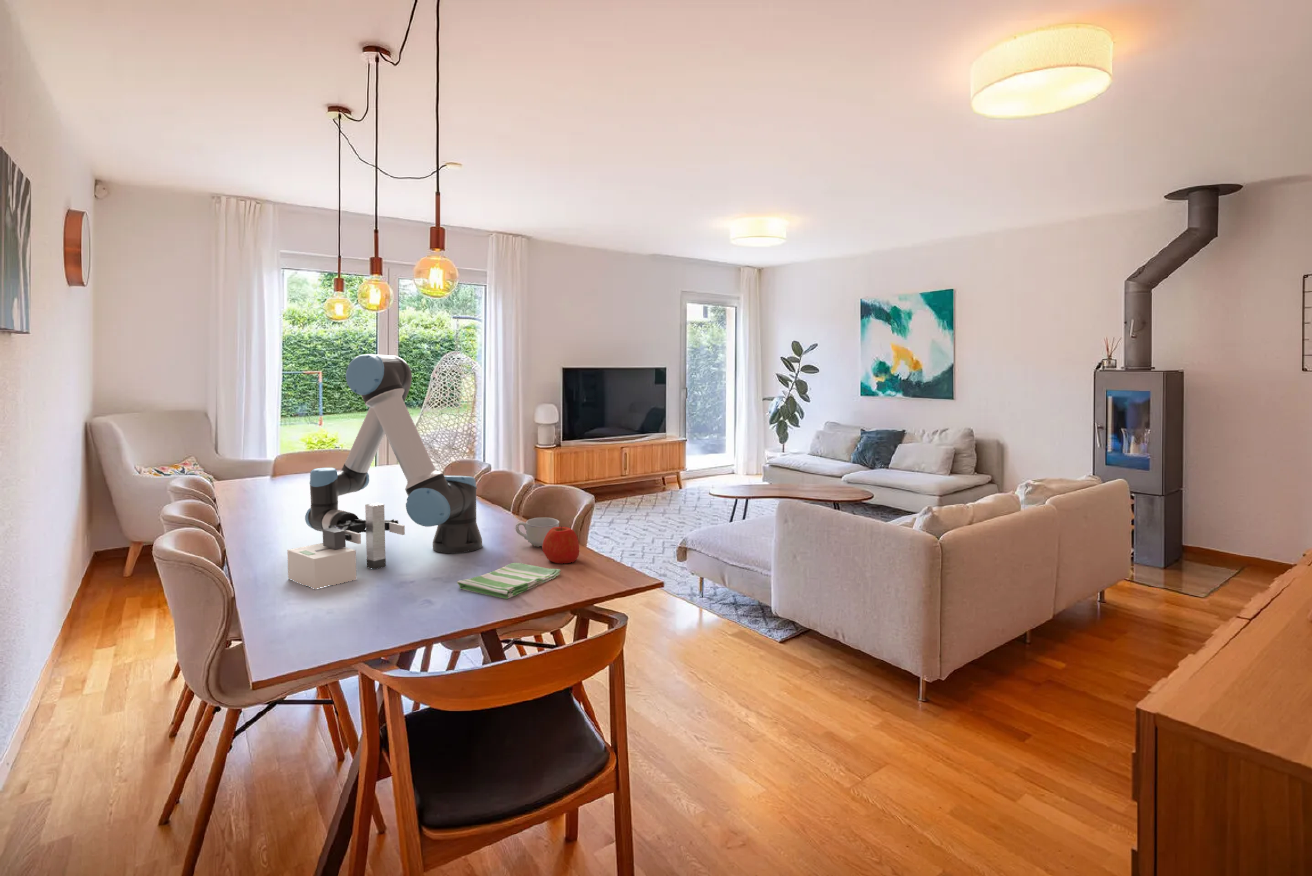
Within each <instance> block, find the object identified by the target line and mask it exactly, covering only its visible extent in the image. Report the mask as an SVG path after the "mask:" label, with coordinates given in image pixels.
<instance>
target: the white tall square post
mask: <svg viewBox="0 0 1312 876" xmlns="http://www.w3.org/2000/svg"><path fill="white" fill-rule="evenodd" d="M364 509H365V512H364V513H365V520H366V528H365V530H366V532H365V544H366V545H365V546H366V547H365V549H366V559H365V562H366V568H368V567H369V568H368V569H371V568H372V569H371V570H378V569H382V568H386V567H385V566H387V559H386V531H385V520H386V519H385V517H386V516H385V504H384V503H379V502H374V503H367V504H365V507H364ZM381 567H382V568H381ZM377 568H378V569H377Z"/></svg>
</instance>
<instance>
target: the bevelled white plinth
mask: <svg viewBox="0 0 1312 876" xmlns="http://www.w3.org/2000/svg"><path fill="white" fill-rule="evenodd" d="M356 553H357V552H356V549H352V548H349V547H344V548H339V549H332V548H329V547H326V546H323V542H321V543H316V544H311V545H305V546H300V547H296V548H291V549H287V575H288V576H287V577H288V578H289V579H292V580H294V581H296V582H298V583H297V584H299V583H301V584H303V585H302V586H304V585H307V586H310V587H312V588H314V589H317V588H320V587H324V586H328V585H333V586H337V585H340V583H341V584H345V583H349V582H352V580H353V581H356V580H357V557H356V555H357V554H356ZM288 578H287V579H288ZM289 579H288V580H289ZM294 581H293V582H294ZM348 581H349V582H348ZM296 582H295V583H296ZM344 582H345V583H344ZM301 584H300V585H301ZM336 584H337V585H336ZM312 588H311V589H312ZM314 589H313V590H314ZM317 590H318V589H317Z"/></svg>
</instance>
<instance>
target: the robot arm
mask: <svg viewBox="0 0 1312 876" xmlns="http://www.w3.org/2000/svg"><path fill="white" fill-rule="evenodd" d="M412 375H413V374H412V370H411V367H410V365H409V364H408V363H407V362H406V361H405V360H404V359H403V358H401V357H399V356H397V355H393V354H392V355H391V354H375V353H367V354H359V355H357V356H355V357H354V358H353V359H352V360H350V362H349V363H348V365H347V369H346V371H345V381H346V384H347V386H348V388H349V389H350V390H351V391H352V392H353V393H355V394H357V395H359V396H361V398H362V400H363V402H364V404H365V406H366V407H369V408H368V410H367V412H366V415H365V417H364V420H363V422H362V424H361V427H359V428H360V429H359V431H358V433H357V435H356V437H355V439H354V441H353V444H352V446H351V448H350V450H349V453H348V455H347V457H346V459H345V461H344V463H343V465H342V468H341V470H340V471H338V470H337V469H336V468H335V467H319V468H318V467H317V468H313V469H312V470H311V471H310V472H309V473H310V474H309V490H310V493H309V494H310V495H309V496H310V508H308V510H307V511H306V513H305V516H304V521H305V523H306V525H307V526H308V527H309V528H311V529H313V530H315V531H317V532H321V533H323V529H327V528H333V527H334V528H337V529H341V530H345V541H347V542H351V543H353V544H357V545H361V544H362V539H361V538H362V537H361V536H362V534H361V533H366V519H361V518H359V517H358V515H356V514H355V513H353V512H349V511H346V510H341V509H339V497H340V496H343V495H347V494H351V493H357V492H360V491H361V490H364V489H365V488H367V486H369V483H370V474H369V473H368V471H369V470H370V467H371V465H372V463H373V461H374V459H375V457H376V455H377V453H378V450H379V448H380V446H381V444H382V442H383V440H384V438H385V437H386V439H387V441H388V443H389V446H390V447H391V449H392V451H393V454H394V455H395V458H396V460H397V462H398V464H399V466H400V468H401V471H402V473H403V475H404V477H405V480H406V486H405V489H404V490H405V492H406V495H407V498H406V503H405V509H406V513H407V515H408V517H409V518H410V519H411V520H412V521H413V522H414V523H415V524H417V525H418V526H419V525H420V526H422V527H426V528H427V527H428V528H430V527H435V526H437V527H436V531H435V534H434V536H433V537H434V538H433V539H432V550H433V551H435V552H437V553H443V554H460V553H461V554H462V553H469V552H473V551H477V550H479V549H481V548H482V547H483V538H482V534H481V532H480V530H479V526H478V523H477V490H478V489H477V483H476V481H477V480H476V478H475V477H474V476H471V475H470V476H468V475H467V476H466V475H445V474H444V473H443V472H442V471H438V470H436V467H435V465H434V464H433V461H432V459H431V457H430V455H429V453H428V450H427V449H426V446H425V443H424V442H423V440H422V437H421V436H420V433H419V431H418V429H417V427H416V425H415V423H414V421H413V419H412V416H411V414H410V411H409V410H408V408H407V406H406V403H405V401H406V400H407V396H408V394H409V392H410V389H411V385H412V381H413V376H412ZM405 528H406V527H405V525H404V524H400V523H399V520H396V519H393V518H392V519H385V532H388V531H389V533H393V534H397V535H400V536H405V535H406V534H405V531H406V530H405Z"/></svg>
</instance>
